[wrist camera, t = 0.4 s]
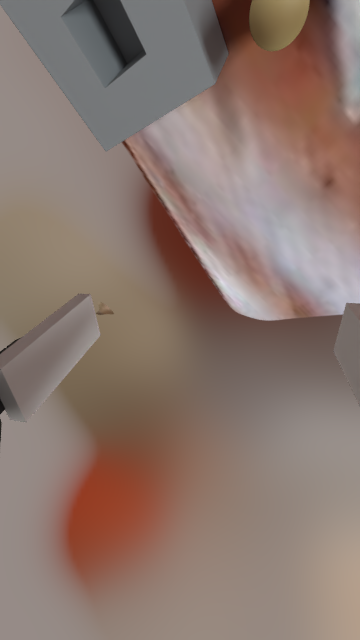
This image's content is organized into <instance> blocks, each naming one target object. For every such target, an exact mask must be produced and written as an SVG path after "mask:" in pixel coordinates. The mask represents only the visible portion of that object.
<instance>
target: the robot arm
mask: <svg viewBox="0 0 360 640" xmlns="http://www.w3.org/2000/svg"><path fill="white" fill-rule="evenodd" d="M99 336H100V332H99V328H98V323H97V319H96V314H95V310H94V306H93V302H92V297H91V294H78V295H77V296H75V297H74V298H72V299H71V300H70V301H69V302H67V303H66V304H65V305H63V306H62V307H61V308H60V309H58V310H57V311H55V312H54V313H53V314H52V315H50V316H49V317H48V318H46V319H45V320H44V321H42V322H41V323H40V324H39V325H37V326H36V327H35V328H33V329H32V330H31V331H29V332H28V333H27V334H26V335H25V336H23V337H21V338H19V339H17V340H15V341H14V342H12V343H11V344H10V345H8V346H7V348H4V349H3V350H2V351H0V414H1V413H2V412H3V411H4V410H5V411H6V412H7V414H8V416H9V418H10V420H14V421H21V422H27V421H28V420H29V418H30V417H31V416H32V415H33V414H34V413H35V412H36V410H37V409H38V408H39V407H40V406H41V404H42V403H43V402H44V401H45V400H46V399H47V397H48V396H49V395H50V394H51V393H52V392H53V390H54V389H55V388H56V387H57V386H58V384H59V383H60V382H61V381H62V380H63V378H64V377H65V376H66V375H67V374H68V373H69V372H70V370H71V369H72V368H73V367H74V366H75V365H76V363H77V362H78V361H79V360H80V359H81V357H82V356H83V355H84V354H85V353H86V352H87V350H88V349H89V348H90V347H91V345H92V344H93V343H94V342H95V341H96V340H97V339H98V337H99ZM334 354H335V356H336V358H337V360H338V362H339V364H340V366H341V368H342V370H343V372H344V374H345V376H346V379H347V381H348V383H349V385H350V387H351V389H352V391H353V393H354V395H355V397H356V399H357V401H358V404H359V406H360V304H356V303H346V306H345V310H344V314H343V318H342V322H341V325H340V329H339V333H338V336H337V340H336V344H335V347H334ZM0 441H1V419H0Z"/></svg>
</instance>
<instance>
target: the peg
mask: <svg viewBox="0 0 360 640" xmlns="http://www.w3.org/2000/svg"><path fill="white" fill-rule="evenodd" d="M309 1H310V0H252V3H251V7H250V14H249V25H250V31H251V34H252V37H253V39H254V41H255V42H256V44H257V45H258V46H259V47H261V48H262V49H264V50H267V51H277V50H280V49H283V48H284V47H286V46H287V45H289V44H290V43H291V42H292V41H293V40H294V39H295V38H296V37H297V35H298V34H299V32H300V31H301V29H302V27H303V25H304V23H305V20H306V17H307V14H308V9H309Z"/></svg>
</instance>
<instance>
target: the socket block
mask: <svg viewBox="0 0 360 640" xmlns="http://www.w3.org/2000/svg"><path fill="white" fill-rule="evenodd" d="M0 5H1V6H2V8H3V9H4V11H5V12H6V13H7V15H8V16H9V17H10V19H11V20H12V22H13V23H14V24H15V26H16V27H17V29H18V30H19V31H20V33H21V34H22V36H23V37H24V38H25V40H26V41H27V43H28V44H29V45H30V47H31V48H32V49H33V51H34V52H35V54H36V55H37V56H38V58H39V59H40V61H41V62H42V63H43V65H44V66H45V68H46V69H47V70H48V72H49V73H50V75H51V76H52V77H53V79H54V80H55V81H56V83H57V84H58V86H59V87H60V89H61V90H62V91H63V93H64V94H65V95H66V97H67V98H68V100H69V101H70V102H71V104H72V105H73V106H74V108H75V109H76V111H77V112H78V113H79V115H80V116H81V118H82V119H83V120H84V122H85V123H86V125H87V126H88V128H89V129H90V130H91V132H92V133H93V135H94V136H95V137H96V139H97V140H98V141H99V143H100V144H101V146H102V147H103V148H104V150H105V151H108V150H109V149H111V148H112V147H114V146H116V145H117V144H119V143H121V142H122V141H124V140H125V139H127V138H129V137H130V136H132V135H133V134H135V133H137V132H138V131H140V130H141V129H143V128H145V127H146V126H148V125H150V124H151V123H153V122H154V121H156V120H158V119H159V118H161V117H162V116H164V115H166V114H167V113H169V112H170V111H172V110H174V109H175V108H177V107H179V106H180V105H182V104H183V103H185V102H187V101H188V100H190V99H191V98H193V97H195V96H196V95H198V94H199V93H201V92H203V91H204V90H206V89H208V88H209V87H211V86H212V85H214V84H215V82H216V80H217V78H218V76H219V74H220V72H221V69H222V67H223V65H224V63H225V61H226V59H227V56H228V54H229V53H228V50H227V47H226V44H225V41H224V38H223V34H222V31H221V28H220V25H219V22H218V19H217V16H216V12H215V9H214V6H213V3H212V0H0Z"/></svg>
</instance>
